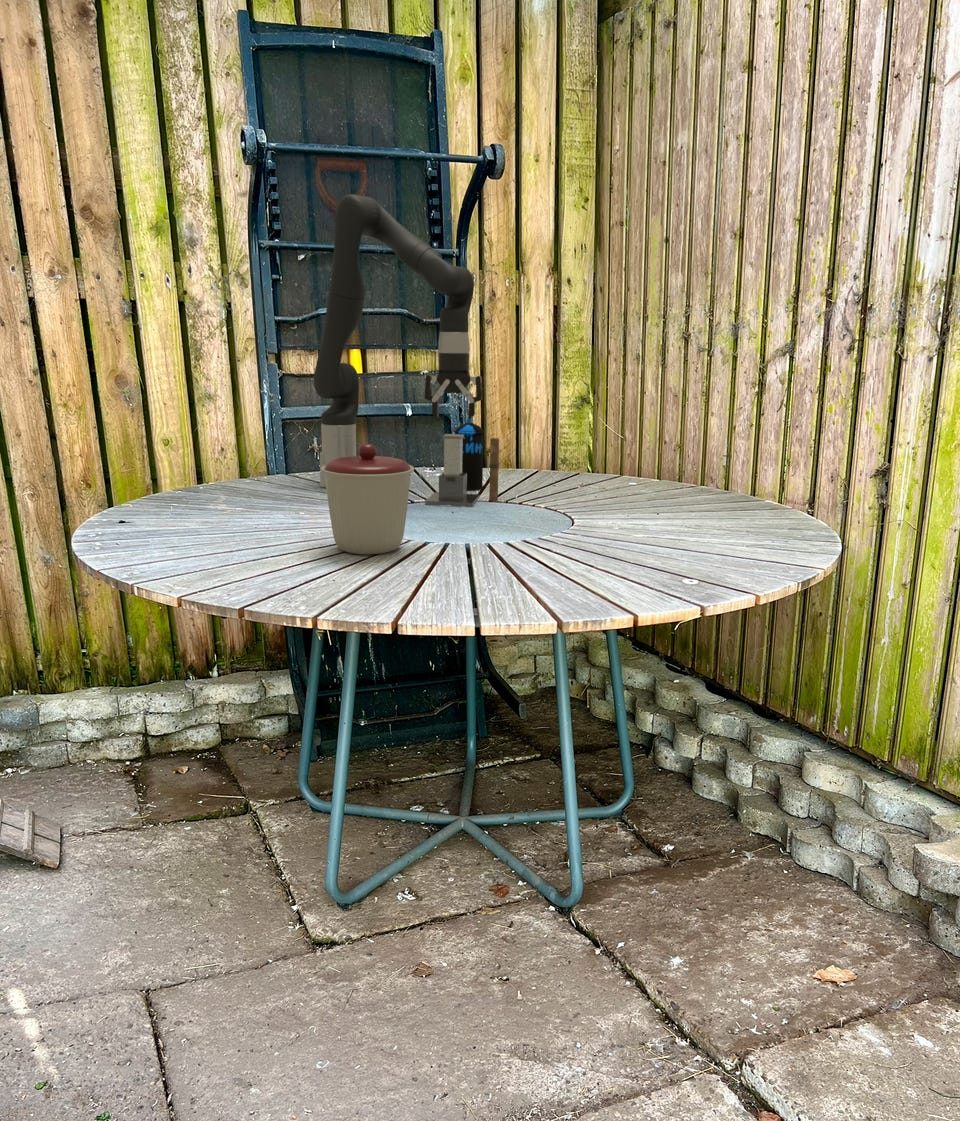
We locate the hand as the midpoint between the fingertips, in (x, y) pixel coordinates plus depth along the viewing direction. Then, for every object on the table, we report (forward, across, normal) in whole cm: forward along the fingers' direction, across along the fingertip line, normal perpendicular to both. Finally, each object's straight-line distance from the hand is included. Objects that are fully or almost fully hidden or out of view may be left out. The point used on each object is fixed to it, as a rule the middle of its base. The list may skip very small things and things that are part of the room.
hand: (453, 417), depth 223 cm
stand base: (+21, 0, 0) cm, 21 cm away
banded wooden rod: (+21, +10, +4) cm, 24 cm away
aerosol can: (+21, +1, +20) cm, 29 cm away
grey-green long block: (+20, 0, 0) cm, 20 cm away
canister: (+22, -8, -53) cm, 58 cm away
